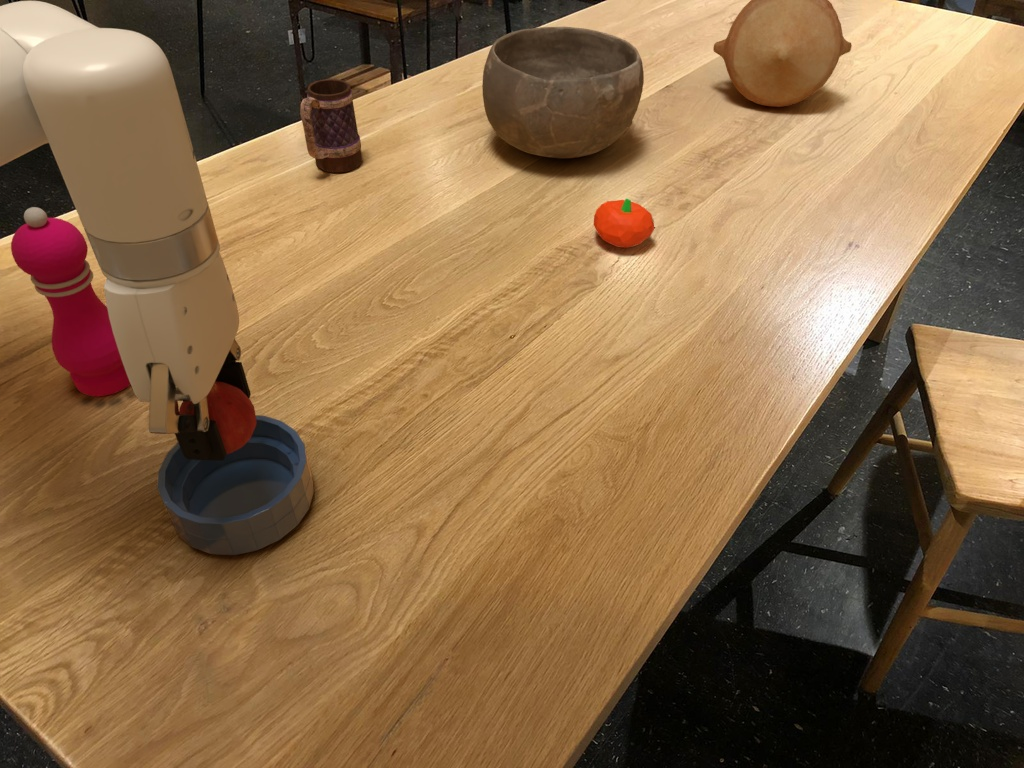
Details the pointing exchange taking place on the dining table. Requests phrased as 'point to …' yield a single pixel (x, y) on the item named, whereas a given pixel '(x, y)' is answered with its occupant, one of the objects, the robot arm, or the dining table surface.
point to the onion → (228, 414)
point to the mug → (331, 126)
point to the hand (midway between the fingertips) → (219, 425)
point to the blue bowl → (239, 491)
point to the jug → (782, 49)
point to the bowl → (561, 90)
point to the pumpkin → (623, 223)
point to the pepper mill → (70, 302)
